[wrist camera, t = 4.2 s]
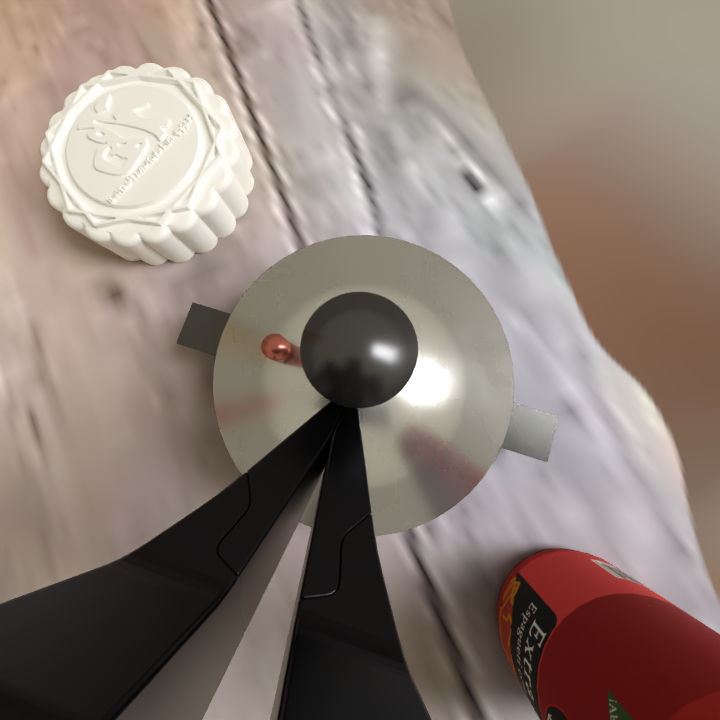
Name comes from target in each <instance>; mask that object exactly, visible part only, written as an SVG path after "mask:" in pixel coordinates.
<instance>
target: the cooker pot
mask: <svg viewBox="0 0 720 720" xmlns="http://www.w3.org/2000/svg"><path fill="white" fill-rule="evenodd" d="M230 315H231V314H228V313H225V312H222V311H219V310H216V309H212V308H209V307H206V306H203V305H200V304H196V303H192V305H191V308H190V311H189V313H188V316H187V318H186V321H185V323H184V326H183V328H182V331H181V333H180V336H179V338H178V341H177V344H181V345H184V346H187V347H190V348H193V349H196V350H199V351H202V352H205V353H209V354H212V355H215V356H216V353H217V349H218V346H219V342H220V339H221V336H222V333H223V330H224V328H225V326H226V324H227V322H228V319H229V317H230ZM557 419H558V416H555V415H552V414H549V413H545V412H542V411H539V410H536V409H533V408H529V407H526V406H523V405H520V404H517V403H513V407H512V412H511V418H510V423H509V426H508V429H507V432H506V435H505V438H504V441H503V444H502V446H501V448H504V449H508V450H511V451H514V452H517V453H520V454H523V455H526V456H529V457H532V458H536V459H539V460H542V461H545V462H548V457H549V453H550V449H551V444H552V440H553V436H554V432H555V427H556V423H557Z"/></svg>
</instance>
